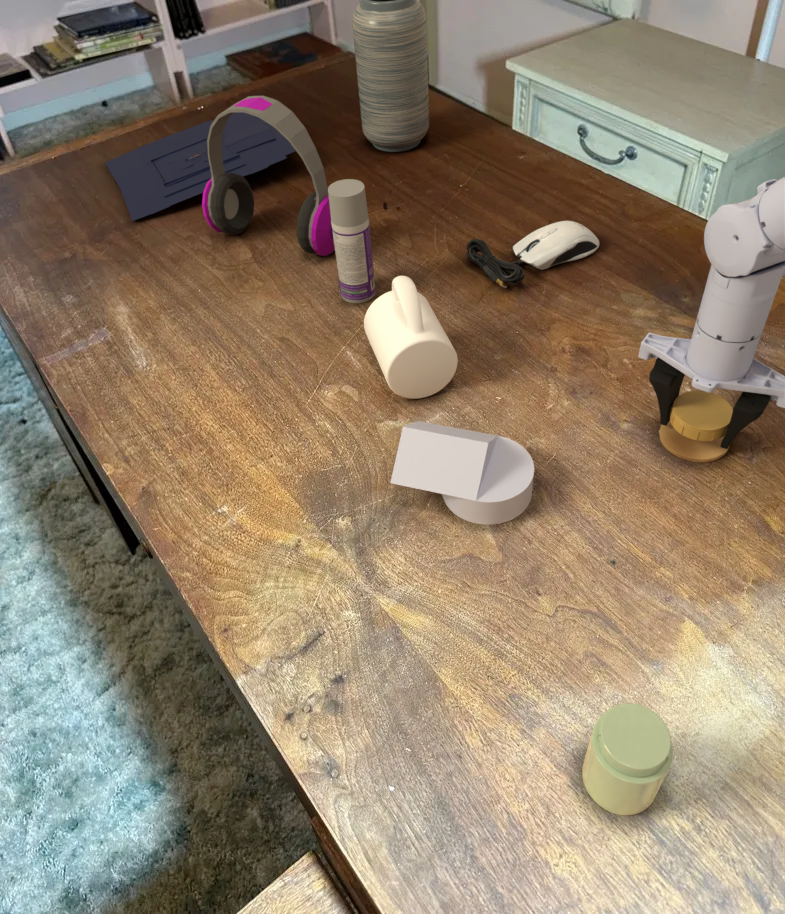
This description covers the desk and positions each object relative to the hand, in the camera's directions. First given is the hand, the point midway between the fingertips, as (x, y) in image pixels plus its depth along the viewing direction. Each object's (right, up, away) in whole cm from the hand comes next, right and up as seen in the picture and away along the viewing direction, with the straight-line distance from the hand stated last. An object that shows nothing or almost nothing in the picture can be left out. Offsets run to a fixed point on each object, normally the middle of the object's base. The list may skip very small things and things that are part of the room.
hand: (696, 430), depth 79 cm
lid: (0, +2, -2) cm, 3 cm away
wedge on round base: (-24, -6, -2) cm, 25 cm away
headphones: (-48, +29, +34) cm, 66 cm away
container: (-36, +19, +23) cm, 47 cm away
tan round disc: (0, -1, +1) cm, 1 cm away
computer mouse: (-11, +25, +26) cm, 38 cm away
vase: (-31, +52, +55) cm, 82 cm away
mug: (-29, +7, +11) cm, 32 cm away
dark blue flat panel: (-64, +46, +52) cm, 94 cm away
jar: (-15, -26, -23) cm, 38 cm away
